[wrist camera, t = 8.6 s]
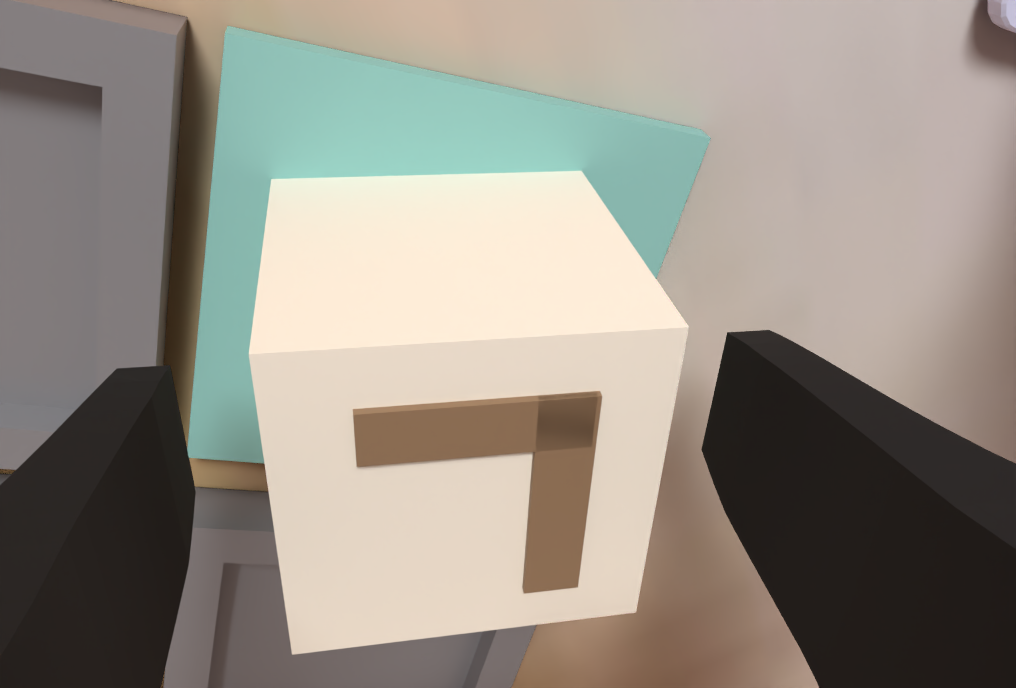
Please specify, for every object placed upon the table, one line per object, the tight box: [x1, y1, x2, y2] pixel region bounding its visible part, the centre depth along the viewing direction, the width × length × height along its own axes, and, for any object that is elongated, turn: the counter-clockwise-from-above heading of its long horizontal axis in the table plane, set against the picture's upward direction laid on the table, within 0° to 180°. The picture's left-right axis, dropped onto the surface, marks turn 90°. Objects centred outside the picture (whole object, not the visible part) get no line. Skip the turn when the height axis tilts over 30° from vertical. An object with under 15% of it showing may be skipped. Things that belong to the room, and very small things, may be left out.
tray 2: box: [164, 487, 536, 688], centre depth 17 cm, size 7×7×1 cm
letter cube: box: [249, 171, 689, 655], centre depth 12 cm, size 4×4×5 cm
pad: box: [187, 26, 711, 463], centre depth 14 cm, size 7×7×1 cm
